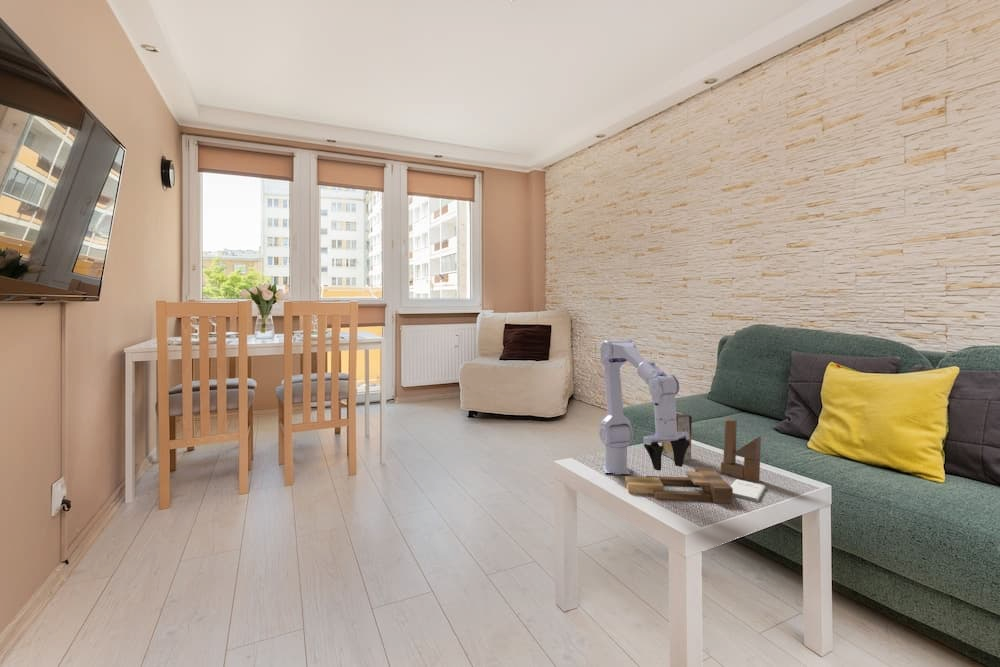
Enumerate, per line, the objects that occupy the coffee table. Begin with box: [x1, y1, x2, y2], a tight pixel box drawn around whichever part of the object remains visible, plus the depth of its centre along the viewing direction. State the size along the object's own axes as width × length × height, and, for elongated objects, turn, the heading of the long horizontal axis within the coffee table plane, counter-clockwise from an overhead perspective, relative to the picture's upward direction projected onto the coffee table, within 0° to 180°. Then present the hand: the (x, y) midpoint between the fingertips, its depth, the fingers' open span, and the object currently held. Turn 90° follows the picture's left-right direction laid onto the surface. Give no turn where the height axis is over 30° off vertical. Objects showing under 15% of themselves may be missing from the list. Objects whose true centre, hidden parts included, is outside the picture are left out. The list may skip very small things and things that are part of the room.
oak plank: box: [624, 476, 664, 494], centre depth 138 cm, size 6×10×3 cm, turn 84°
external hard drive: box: [730, 478, 767, 503], centre depth 137 cm, size 2×8×12 cm
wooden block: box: [720, 418, 762, 483], centre depth 148 cm, size 4×11×18 cm, turn 39°
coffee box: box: [661, 410, 693, 462], centre depth 167 cm, size 9×6×16 cm
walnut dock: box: [645, 467, 733, 504], centre depth 137 cm, size 16×20×4 cm
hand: (668, 467), depth 128 cm, fingers open, 7 cm apart
